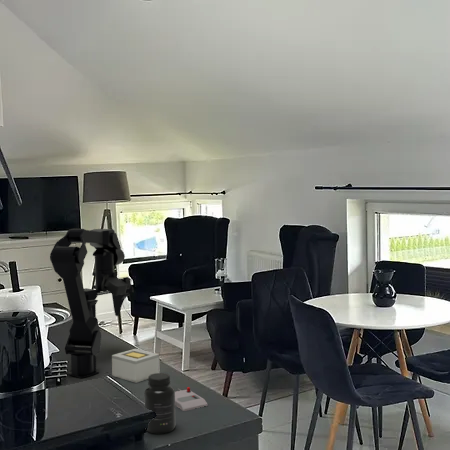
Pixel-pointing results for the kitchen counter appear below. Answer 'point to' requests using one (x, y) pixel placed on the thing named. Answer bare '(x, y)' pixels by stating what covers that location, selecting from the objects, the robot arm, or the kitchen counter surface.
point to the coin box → (135, 365)
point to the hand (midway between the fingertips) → (105, 318)
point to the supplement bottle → (160, 403)
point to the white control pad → (188, 400)
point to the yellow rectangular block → (135, 355)
